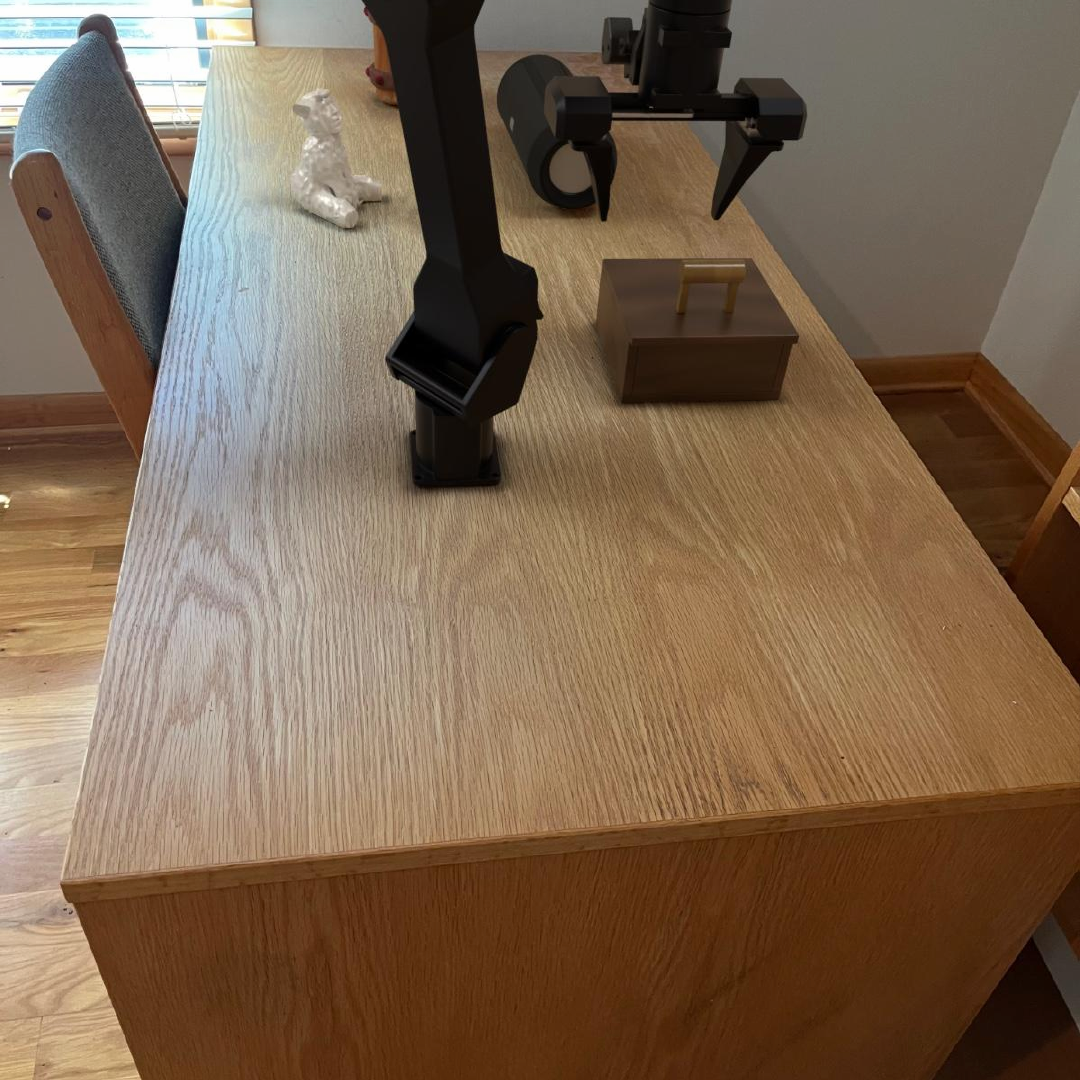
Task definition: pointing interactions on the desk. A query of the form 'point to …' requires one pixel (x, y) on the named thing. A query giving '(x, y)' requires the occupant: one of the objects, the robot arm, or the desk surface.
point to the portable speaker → (544, 135)
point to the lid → (696, 302)
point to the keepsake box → (686, 365)
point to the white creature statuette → (328, 165)
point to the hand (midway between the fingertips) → (659, 218)
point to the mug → (381, 66)
